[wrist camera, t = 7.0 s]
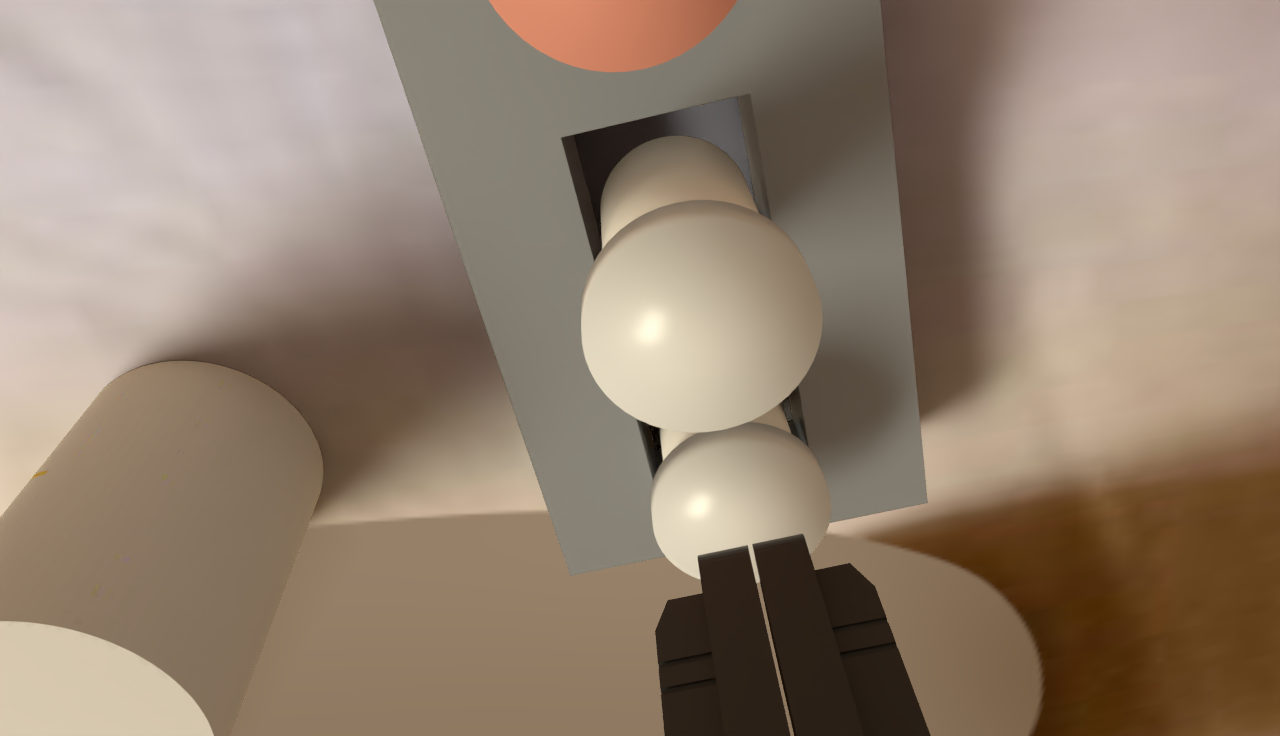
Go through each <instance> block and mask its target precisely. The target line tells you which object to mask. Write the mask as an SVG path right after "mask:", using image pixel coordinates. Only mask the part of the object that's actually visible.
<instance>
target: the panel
mask: <svg viewBox="0 0 1280 736" xmlns="http://www.w3.org/2000/svg"><path fill="white" fill-rule="evenodd" d="M374 3H375V6H376V9H377V12H378V15H379V17H380V20H381V23H382V26H383V29H384V32H385V35H386V38H387V41H388V44H389V47H390V50H391V53H392V55H393V58H394V61H395V64H396V67H397V70H398V73H399V76H400V79H401V82H402V85H403V88H404V91H405V94H406V96H407V99H408V102H409V105H410V108H411V111H412V114H413V117H414V120H415V123H416V126H417V129H418V132H419V134H420V137H421V140H422V143H423V146H424V149H425V152H426V155H427V158H428V161H429V164H430V167H431V170H432V172H433V175H434V178H435V181H436V184H437V187H438V190H439V193H440V196H441V199H442V202H443V205H444V208H445V210H446V213H447V216H448V219H449V222H450V225H451V228H452V231H453V234H454V237H455V240H456V243H457V246H458V248H459V251H460V254H461V257H462V260H463V263H464V266H465V269H466V272H467V275H468V278H469V281H470V284H471V286H472V289H473V292H474V295H475V298H476V301H477V304H478V307H479V310H480V313H481V316H482V319H483V322H484V325H485V327H486V330H487V333H488V336H489V339H490V342H491V345H492V348H493V351H494V354H495V357H496V360H497V363H498V365H499V368H500V371H501V374H502V377H503V380H504V383H505V386H506V389H507V392H508V395H509V398H510V401H511V403H512V406H513V409H514V412H515V415H516V418H517V421H518V424H519V427H520V430H521V433H522V436H523V439H524V441H525V444H526V447H527V450H528V453H529V456H530V459H531V462H532V465H533V468H534V471H535V474H536V477H537V479H538V482H539V485H540V488H541V491H542V494H543V497H544V500H545V503H546V506H547V509H548V512H549V515H550V517H551V520H552V523H553V526H554V529H555V532H556V535H557V538H558V541H559V544H560V547H561V550H562V553H563V555H564V558H565V561H566V564H567V567H568V570H569V573H570V576H572V575H577V574H582V573H587V572H592V571H597V570H602V569H607V568H611V567H616V566H621V565H626V564H631V563H636V562H640V561H646V560H651V559H655V558H660V557H665V555H664V553H663V552H662V551H661V549H660V547H659V545H658V543H657V541H656V538H655V535H654V530H653V523H652V513H651V498H650V494H651V487H652V483H653V480H654V477H655V474H656V472H657V470H658V468H659V466H660V465H661V463H662V462H663V456H662V449H658V450H656V449H655V445H654V441H653V437H652V434H651V430H650V426H649V424H647V423H645V422H643V421H640V420H638V419H636V418H635V417H633V416H631V415H629V414H628V413H626V412H625V411H623V410H622V409H621V408H619V407H618V406H617V405H616V404H614V403H613V402H612V401H611V400H610V399H609V398H608V397H607V396H606V395H605V394H604V392H603V391H602V390H601V388H600V387H599V386H598V384H597V383H596V381H595V379H594V378H593V376H592V374H591V372H590V370H589V367H588V365H587V362H586V359H585V356H584V351H583V346H582V335H581V306H582V294H583V290H584V286H585V282H586V279H587V276H588V274H589V271H590V269H591V267H592V265H593V263H594V261H595V259H596V258H597V256H598V254H599V253H600V252H601V250H602V242H601V239H600V235H599V231H598V227H597V223H596V219H595V216H594V212H593V208H592V204H591V200H590V197H589V193H588V189H587V185H586V181H585V177H584V174H583V170H582V166H581V162H580V158H579V154H578V151H577V147H576V143H575V139H574V134H579V133H583V132H587V131H591V130H596V129H600V128H604V127H608V126H613V125H617V124H621V123H625V122H630V121H634V120H638V119H643V118H647V117H651V116H655V115H660V114H664V113H668V112H672V111H677V110H681V109H685V108H689V107H694V106H698V105H702V104H706V103H711V102H715V101H719V100H724V99H728V98H732V97H736V96H737V99H738V104H739V110H740V116H741V122H742V128H743V134H744V139H745V145H746V151H747V157H748V163H749V168H750V174H751V180H752V186H753V192H754V197H755V203H756V207H757V209H758V212H759V214H761V215H763V216H765V217H767V218H768V219H770V220H771V221H772V222H774V223H775V224H777V225H778V226H779V227H780V228H781V229H782V230H783V231H784V232H785V233H786V234H787V235H788V236H789V237H790V238H791V239H792V241H793V242H794V243H795V244H796V246H797V247H798V249H799V251H800V252H801V254H802V256H803V258H804V259H805V262H806V264H807V266H808V268H809V270H810V272H811V274H812V276H813V278H814V281H815V284H816V286H817V289H818V291H819V295H820V300H821V304H822V316H823V323H822V334H821V339H820V343H819V348H818V350H817V353H816V356H815V358H814V361H813V363H812V365H811V366H810V368H809V370H808V372H807V374H806V375H805V376H804V378H803V379H802V381H801V382H800V383H799V385H798V386H797V387H796V388H795V389H794V390H793V391H792V392H791V394H790V395H789V400H790V406H791V412H792V418H793V421H790V422H788V425H789V428H790V431H791V434H792V435H794V436H796V437H797V438H799V439H800V440H801V441H802V442H803V443H805V444H806V445H807V446H808V447H809V449H810V450H811V451H812V452H813V454H814V455H815V457H816V458H817V460H818V462H819V465H820V467H821V469H822V472H823V475H824V478H825V481H826V484H827V486H828V489H829V493H830V497H831V507H832V509H831V518H830V522H829V523H832V522H837V521H842V520H847V519H851V518H856V517H861V516H866V515H871V514H876V513H881V512H886V511H891V510H896V509H900V508H905V507H910V506H915V505H920V504H925V503H928V501H927V491H926V480H925V470H924V459H923V448H922V438H921V427H920V417H919V406H918V395H917V385H916V374H915V364H914V353H913V342H912V332H911V321H910V311H909V300H908V289H907V279H906V268H905V258H904V247H903V236H902V226H901V215H900V204H899V194H898V183H897V173H896V162H895V151H894V141H893V130H892V120H891V109H890V98H889V88H888V77H887V67H886V56H885V45H884V35H883V24H882V14H881V3H880V0H737V2H736V3H735V5H734V6H733V7H732V9H731V10H730V12H729V13H728V14H727V16H726V17H725V18H724V20H723V21H722V22H721V23H720V24H719V25H718V26H717V27H716V28H715V29H714V30H713V31H712V32H711V33H710V34H709V35H708V36H707V37H705V38H704V39H703V40H702V41H701V42H699V43H698V44H697V45H696V46H694V47H693V48H691V49H689V50H688V51H686V52H685V53H683V54H681V55H680V56H678V57H675V58H673V59H671V60H669V61H667V62H665V63H662V64H659V65H656V66H652V67H649V68H646V69H640V70H634V71H629V72H601V71H591V70H587V69H582V68H578V67H574V66H571V65H568V64H566V63H563V62H560V61H558V60H555V59H553V58H551V57H550V56H548V55H546V54H544V53H542V52H540V51H538V50H537V49H536V48H534V47H533V46H531V45H530V44H529V43H527V42H526V41H524V40H523V39H522V38H521V37H520V36H519V35H518V34H517V33H515V32H514V31H513V30H512V29H511V28H510V27H509V26H508V25H507V24H506V22H505V21H504V20H503V19H502V18H501V17H500V15H499V14H498V13H497V12H496V10H495V9H494V7H493V6H492V4H491V3H490V1H489V0H374Z"/></svg>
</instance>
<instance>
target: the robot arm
mask: <svg viewBox="0 0 1280 736" xmlns="http://www.w3.org/2000/svg"><path fill="white" fill-rule="evenodd" d="M752 546H753V551H754V555H755V560H756V565H757V569H758V574H759V579H760V583H761V588H762V593H763V598H764V602H765V607H766V612H767V616H768V621H769V626H770V631H771V635H772V639H773V644H774V649H775V653H776V658H777V662H778V667H779V671H780V675H781V680H782V684H783V689H784V692H785V697H786V702H787V706H788V710H789V715H790V719H791V723H792V728H793V732H794V736H930V733H929V730H928V728H927V726H926V722H925V720H924V717H923V714H922V711H921V709H920V706H919V703H918V701H917V698H916V696H915V693H914V690H913V687H912V685H911V682H910V679H909V677H908V674H907V671H906V669H905V666H904V663H903V660H902V658H901V655H900V652H899V650H898V648H897V646H896V642H895V639H894V637H893V634H892V631H891V629H890V626H889V623H888V622H887V618H886V615H885V612H884V610H883V607H882V604H881V602H880V599H879V597H878V594H877V591H876V588H875V586H874V585H873V584H872V583H871V582H869V581H868V580H867V579H866V578H865V577H864V576H863V575H862V574H861V573H860V572H859V571H857V569H856V568H854V567H853V566H852V565H851V564H850V563H848V564H843V565H838V566H833V567H829V568H824V569H819V570H814V567H813V563H812V560H811V557H810V553H809V550H808V547H807V543H806V540H805V537H804V535H803V534H798V535H794V536H789V537H784V538H779V539H774V540H769V541H764V542H759V543H755V544H752ZM697 558H698V566H699V572H700V579H701V584H702V591H703V593H702V594H697V595H692V596H687V597H682V598H678V599H672V600H668V601H667V603H666V606H665V609H664V611H663V613H662V616H661V618H660V621H659V623H658V626H657V628H656V631H655V632H656V644H657V655H658V664H659V676H660V688H661V693H662V695H661V699H662V709H663V720H664V732H665V736H790V732H789V727H788V723H787V719H786V714H785V709H784V705H783V700H782V696H781V692H780V687H779V683H778V678H777V674H776V669H775V665H774V660H773V656H772V652H771V647H770V642H769V638H768V633H767V629H766V625H765V620H764V616H763V611H762V607H761V603H760V598H759V593H758V589H757V584H756V580H755V575H754V571H753V567H752V562H751V558H750V553H749V549H748V545H746V546H741V547H736V548H731V549H727V550H722V551H717V552H712V553H707V554H702V555H698V556H697Z"/></svg>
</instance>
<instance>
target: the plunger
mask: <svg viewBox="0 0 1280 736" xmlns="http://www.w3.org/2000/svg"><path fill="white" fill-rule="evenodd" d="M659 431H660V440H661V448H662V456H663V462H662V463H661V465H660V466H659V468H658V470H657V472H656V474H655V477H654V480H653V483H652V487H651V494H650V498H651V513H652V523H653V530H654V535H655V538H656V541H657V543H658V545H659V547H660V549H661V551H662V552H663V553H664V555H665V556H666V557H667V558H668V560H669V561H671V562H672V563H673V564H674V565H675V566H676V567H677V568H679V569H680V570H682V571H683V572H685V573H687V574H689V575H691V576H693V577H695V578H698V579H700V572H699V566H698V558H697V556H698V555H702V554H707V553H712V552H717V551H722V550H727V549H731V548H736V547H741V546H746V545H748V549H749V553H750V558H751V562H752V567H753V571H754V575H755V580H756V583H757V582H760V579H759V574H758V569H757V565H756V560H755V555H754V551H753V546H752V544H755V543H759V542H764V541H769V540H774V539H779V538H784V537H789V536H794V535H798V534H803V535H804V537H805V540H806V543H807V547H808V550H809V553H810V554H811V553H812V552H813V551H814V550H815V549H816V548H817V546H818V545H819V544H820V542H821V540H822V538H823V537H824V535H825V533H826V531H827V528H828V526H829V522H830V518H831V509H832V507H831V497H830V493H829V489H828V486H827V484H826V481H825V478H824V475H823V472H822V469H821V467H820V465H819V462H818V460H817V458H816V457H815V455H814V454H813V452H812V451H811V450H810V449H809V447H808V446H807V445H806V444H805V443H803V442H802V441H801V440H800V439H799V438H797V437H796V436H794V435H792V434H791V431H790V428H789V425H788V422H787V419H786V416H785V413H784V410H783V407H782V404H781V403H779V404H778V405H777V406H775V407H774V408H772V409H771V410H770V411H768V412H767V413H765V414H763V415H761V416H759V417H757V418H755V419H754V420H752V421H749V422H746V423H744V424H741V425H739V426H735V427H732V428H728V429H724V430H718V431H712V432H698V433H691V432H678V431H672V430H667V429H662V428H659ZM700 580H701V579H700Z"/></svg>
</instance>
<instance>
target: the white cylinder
mask: <svg viewBox="0 0 1280 736" xmlns="http://www.w3.org/2000/svg"><path fill="white" fill-rule="evenodd" d="M323 474H324V471H323V460H322V455H321V451H320V448H319V445H318V442H317V440H316V438H315V435H314V434H313V432H312V430H311V428H310V426H309V425H308V423H307V422H306V420H305V419H304V418H303V417H302V415H301V414H300V413H299V412H298V411H297V409H296V408H295V407H294V406H293V405H292V404H291V403H290V402H289V401H287V400H286V399H285V398H284V397H283V396H282V395H280V394H279V393H278V392H276V391H275V390H274V389H272V388H271V387H269V386H268V385H266V384H264V383H263V382H261V381H259V380H257V379H255V378H253V377H251V376H249V375H247V374H244V373H242V372H240V371H237V370H234V369H231V368H228V367H224V366H221V365H216V364H212V363H206V362H199V361H166V362H159V363H154V364H149V365H146V366H142V367H139V368H136V369H134V370H132V371H129V372H127V373H125V374H123V375H122V376H120V377H118V378H117V379H115V380H114V381H112V382H111V383H110V384H109V385H108V386H106V387H105V388H104V389H103V390H102V391H101V392H100V394H99V395H98V396H97V397H96V399H95V400H94V401H93V402H92V404H91V405H90V406H89V407H88V409H87V410H86V411H85V412H84V414H83V415H82V416H81V417H80V419H79V420H78V421H77V422H76V424H75V425H74V426H73V427H72V429H71V430H70V431H69V432H68V434H67V435H66V436H65V437H64V439H63V440H62V441H61V442H60V444H59V445H58V446H57V447H56V449H55V450H54V451H53V452H52V454H51V455H50V456H49V457H48V459H47V460H46V461H45V462H44V464H43V465H42V466H41V467H40V469H39V470H38V471H37V472H36V474H35V475H34V476H33V477H32V479H31V480H30V481H29V482H28V484H27V485H26V486H25V487H24V489H23V490H22V491H21V492H20V494H19V495H18V496H17V497H16V499H15V500H14V501H13V502H12V504H11V505H10V506H9V507H8V509H7V510H6V511H5V512H4V514H3V515H2V516H1V517H0V736H230V734H231V732H232V729H233V726H234V724H235V721H236V718H237V716H238V713H239V710H240V708H241V705H242V702H243V700H244V697H245V694H246V692H247V689H248V686H249V683H250V681H251V678H252V675H253V673H254V670H255V667H256V665H257V662H258V659H259V657H260V653H261V651H262V649H263V646H264V643H265V641H266V638H267V635H268V632H269V630H270V627H271V624H272V622H273V619H274V616H275V613H276V611H277V608H278V605H279V603H280V600H281V598H282V595H283V592H284V589H285V587H286V584H287V581H288V579H289V576H290V573H291V571H292V568H293V565H294V563H295V560H296V557H297V554H298V552H299V549H300V547H301V544H302V541H303V538H304V536H305V533H306V530H307V528H308V525H309V522H310V520H311V517H312V514H313V512H314V509H315V506H316V504H317V501H318V498H319V496H320V492H321V489H322V484H323Z"/></svg>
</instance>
